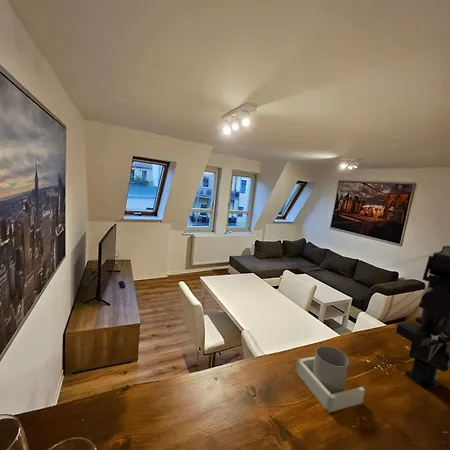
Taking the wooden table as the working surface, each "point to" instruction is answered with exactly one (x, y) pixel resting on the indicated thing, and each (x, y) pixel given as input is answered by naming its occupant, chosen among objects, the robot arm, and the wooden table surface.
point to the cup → (331, 368)
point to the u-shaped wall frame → (321, 393)
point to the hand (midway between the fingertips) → (425, 360)
